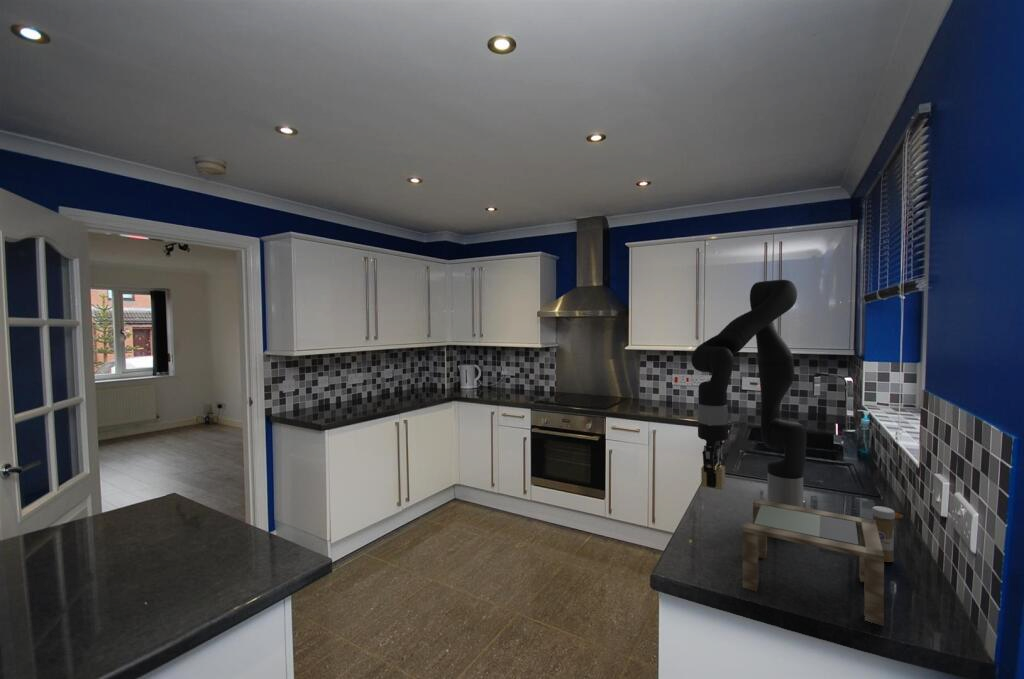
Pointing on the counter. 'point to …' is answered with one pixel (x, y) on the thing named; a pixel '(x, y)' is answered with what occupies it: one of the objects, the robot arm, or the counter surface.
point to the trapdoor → (810, 526)
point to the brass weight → (719, 477)
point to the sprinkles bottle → (885, 530)
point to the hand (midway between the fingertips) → (713, 483)
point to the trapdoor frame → (868, 548)
